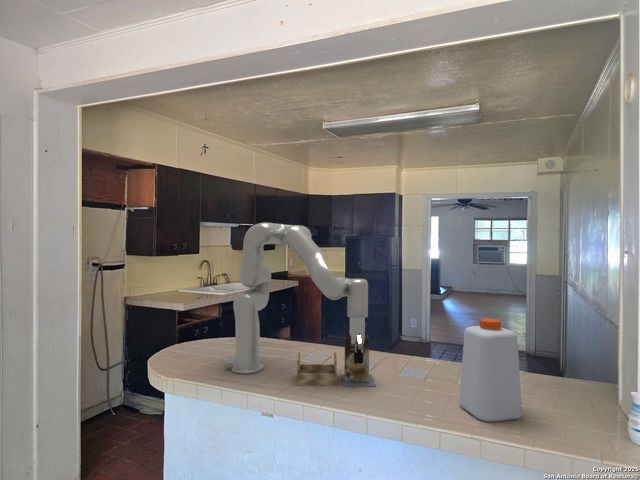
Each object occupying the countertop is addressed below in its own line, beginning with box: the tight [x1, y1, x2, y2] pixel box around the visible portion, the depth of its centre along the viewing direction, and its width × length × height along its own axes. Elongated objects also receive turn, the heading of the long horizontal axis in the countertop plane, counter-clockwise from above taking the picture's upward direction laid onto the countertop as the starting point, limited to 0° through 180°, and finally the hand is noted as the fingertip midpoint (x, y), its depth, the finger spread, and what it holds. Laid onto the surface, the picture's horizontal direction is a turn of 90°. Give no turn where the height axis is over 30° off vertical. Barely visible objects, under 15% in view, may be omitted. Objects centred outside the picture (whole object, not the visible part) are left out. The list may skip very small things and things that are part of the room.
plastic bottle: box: [458, 317, 523, 423], centre depth 123 cm, size 15×15×28 cm
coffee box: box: [343, 333, 370, 382], centre depth 149 cm, size 9×6×16 cm
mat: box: [339, 373, 377, 388], centre depth 149 cm, size 12×12×1 cm
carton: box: [296, 351, 338, 386], centre depth 150 cm, size 14×11×9 cm
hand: (357, 359), depth 149 cm, fingers open, 8 cm apart
